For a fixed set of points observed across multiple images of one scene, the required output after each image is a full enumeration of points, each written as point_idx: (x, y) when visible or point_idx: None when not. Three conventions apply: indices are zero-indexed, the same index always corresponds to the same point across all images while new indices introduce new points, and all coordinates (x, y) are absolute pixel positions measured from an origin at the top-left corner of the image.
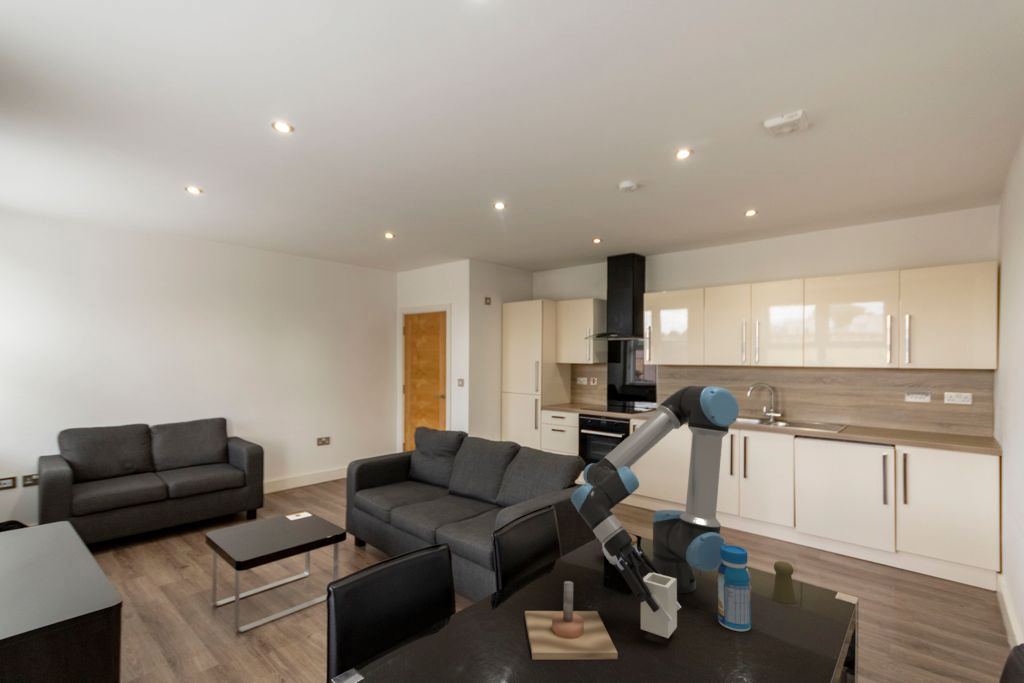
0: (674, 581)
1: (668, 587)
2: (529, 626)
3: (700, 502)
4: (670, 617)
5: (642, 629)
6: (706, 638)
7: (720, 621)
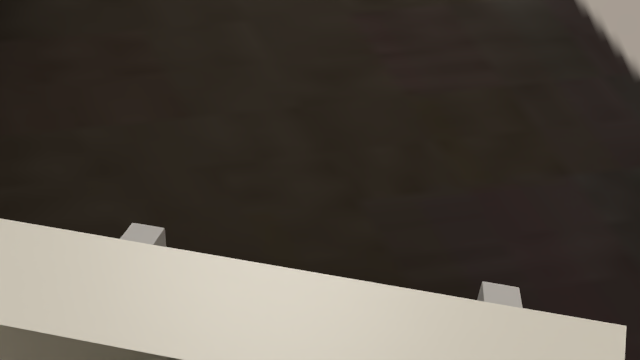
0: (82, 234)
1: (562, 316)
2: None
3: None
4: (497, 296)
5: None
6: (167, 103)
7: None
